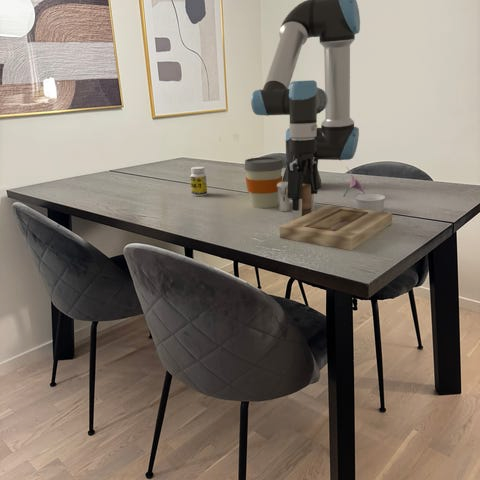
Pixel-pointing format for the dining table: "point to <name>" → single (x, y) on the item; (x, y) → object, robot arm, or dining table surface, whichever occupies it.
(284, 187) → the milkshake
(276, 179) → the reusable coffee cup
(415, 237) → the dining table surface
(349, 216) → the seat board
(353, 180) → the lily
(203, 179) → the supplement bottle
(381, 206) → the ramekin
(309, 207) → the peg
